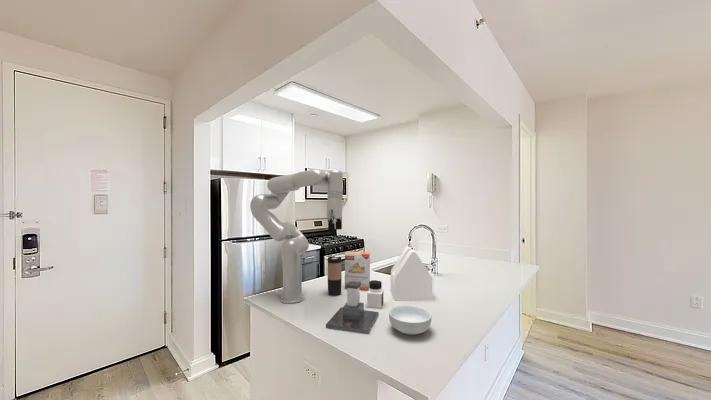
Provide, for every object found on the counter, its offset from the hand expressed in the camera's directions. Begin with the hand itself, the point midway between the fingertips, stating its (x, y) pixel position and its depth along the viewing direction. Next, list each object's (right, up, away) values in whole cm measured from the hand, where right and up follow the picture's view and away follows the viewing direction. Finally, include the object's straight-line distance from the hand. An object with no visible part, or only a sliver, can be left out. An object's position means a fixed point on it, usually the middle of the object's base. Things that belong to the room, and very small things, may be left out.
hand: (335, 230), depth 138 cm
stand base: (+9, -37, -18) cm, 42 cm away
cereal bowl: (+32, -37, -26) cm, 55 cm away
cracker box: (+11, -37, +24) cm, 45 cm away
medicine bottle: (+20, -37, 0) cm, 42 cm away
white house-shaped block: (+40, -37, +14) cm, 56 cm away
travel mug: (-1, -37, +16) cm, 40 cm away
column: (+9, -35, -18) cm, 40 cm away
